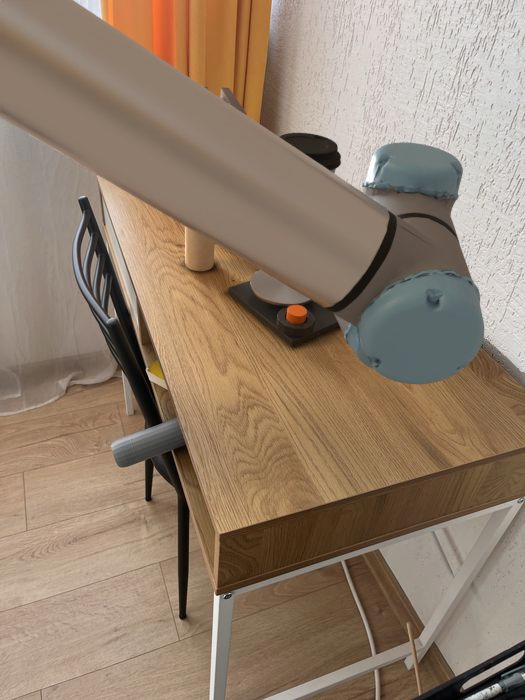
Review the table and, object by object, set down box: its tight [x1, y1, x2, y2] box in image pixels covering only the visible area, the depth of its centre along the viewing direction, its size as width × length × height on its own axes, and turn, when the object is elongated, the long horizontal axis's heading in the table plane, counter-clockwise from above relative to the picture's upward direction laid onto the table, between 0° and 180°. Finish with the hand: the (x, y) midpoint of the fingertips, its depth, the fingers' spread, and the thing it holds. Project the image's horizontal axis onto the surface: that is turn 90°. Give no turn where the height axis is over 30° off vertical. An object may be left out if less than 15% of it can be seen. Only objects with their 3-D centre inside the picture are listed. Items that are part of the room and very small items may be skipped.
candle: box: [184, 226, 216, 272], centre depth 99 cm, size 6×6×10 cm
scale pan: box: [249, 269, 312, 307], centre depth 93 cm, size 12×12×1 cm
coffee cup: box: [278, 132, 342, 174], centre depth 73 cm, size 9×9×15 cm
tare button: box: [286, 305, 307, 324], centre depth 86 cm, size 3×3×2 cm
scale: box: [227, 280, 340, 348], centre depth 93 cm, size 18×14×3 cm
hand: (292, 180), depth 76 cm, fingers closed on coffee cup, 8 cm apart
